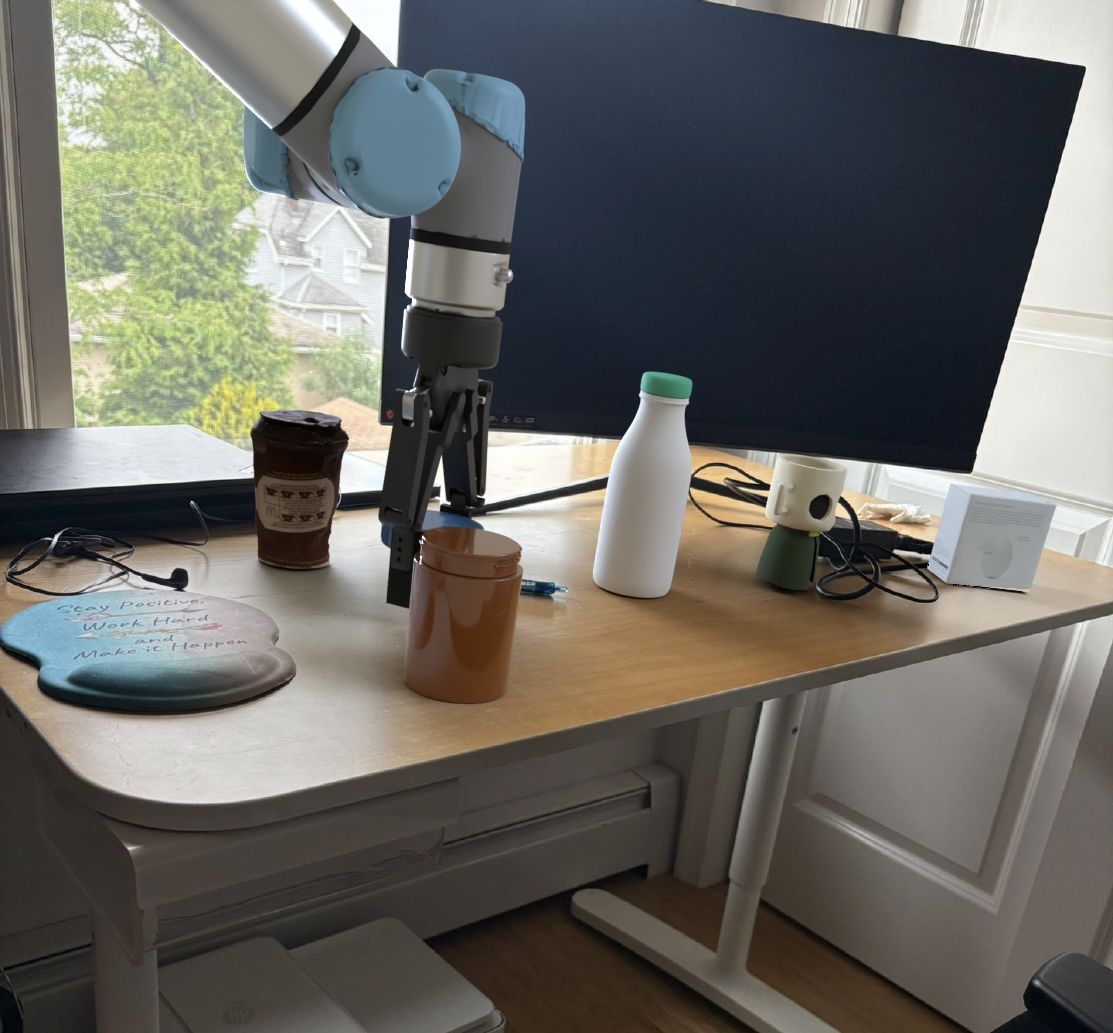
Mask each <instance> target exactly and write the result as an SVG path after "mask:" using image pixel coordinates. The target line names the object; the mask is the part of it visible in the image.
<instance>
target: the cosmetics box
mask: <svg viewBox="0 0 1113 1033" xmlns="http://www.w3.org/2000/svg"><path fill="white" fill-rule="evenodd" d="M944 502H945V503H944V506H943V510H942V512H941V517H940V520H939V523H938V527H937V532H936V535H935V538H934V543H933V546H932V550H931V553H930V557H929V560H928V564H929V566H928V565H927V570H928V571H930V573H932V574H934V575H935V576H936V577H937V578H939V579H940V580H942V581H943V582H944V583H945V584H946V585H953V584H957V585H956V586H963V585H967V586H966V587H973V586H985V587H986V586H987V587H1002V588H1003V587H1004V588H1016V589H1031V590H1032V587H1033V583H1034V579H1035V576H1036V574H1037V569H1038V566H1039V563H1040V560H1041V556H1042V553H1043V550H1044V547H1045V543H1046V541H1047V537H1048V533H1049V530H1050V527H1051V524H1052V521H1053V518H1054V515H1055V512H1056V509H1057V504H1056V503H1054V502H1052V501H1049V500H1047V499H1045V498H1042V497H1041V496H1037V495H1035V494H1033V493H1027V492H1019V491H1010V490H1003V489H996V488H986V487H981V486H972V485H964V484H957V483H950V484H949V488H948V491H947V495H946V499H945V501H944ZM958 584H959V585H958ZM968 585H969V586H968Z"/></svg>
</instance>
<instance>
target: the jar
mask: <svg viewBox="0 0 1113 1033" xmlns="http://www.w3.org/2000/svg"><path fill="white" fill-rule="evenodd" d="M419 542H420V544H421V551H419V552H417V553H416V554H415V556H414V563H413V574H412V584H411V595H410V605H409V609H408V616H407V617H408V618H407V629H406V637H405V638H406V639H405V648H404V660H403V670H402V679H403V682H404V684H405V685H406V686H407V687H408V688H409V689H410V690H411V691H414V692H416V693H417V694H419V695H421V696H424V697H427V698H431V699H433V700H438V701H442V702H447V703H454V704H481V703H488V702H492V701H495V700H498V699H500V698H502V697H503V696H504V695H505V694H506V692H507V691H508V687H509V686H508V685H509V677H510V670H511V663H512V656H513V647H514V640H515V633H516V627H517V620H518V613H519V612H518V611H519V605H520V596H521V590H522V584H523V583H522V582H523V576H524V575H523V574H524V568H523V566H522V565H521V564H520V561H521V559H522V552H523V547H522V546H521V544H519V543H518V542H517V540H514V539H513V538H511V537H509V536H506V535H503V534H501V533H497V532H494V531H491V530H486V529H484V530H481V529H475V528H466V527H439V528H433V529H429V530H427V531H425V532H424V533H423V535H422V537H421V539H420V541H419Z"/></svg>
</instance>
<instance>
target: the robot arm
mask: <svg viewBox="0 0 1113 1033" xmlns="http://www.w3.org/2000/svg"><path fill="white" fill-rule="evenodd" d="M134 1H135V2H136V3H137V4H138V5H139V6H140V7H141V8H142V9H143V10H145V12H147V14H149V16H151V17H152V19H154V20H155V21H156V22H157V23H158V24H159V25H160V26H161V27H162V28H163V29H164V30H166V32H168V34H170V35H171V36H172V37H173V38H174V39H175V40H176V41H177V42H178V43H179V44H181V46H182V47H184V49H185V50H187V51H188V52H189V53H190V54H191V55H192V56H193V57H194V58H195V59H196V60H197V61H198V62H199V63H200V64H202V65H203V66H204V67H205V68H206V70H208V71H209V73H211V74H212V75H213V76H214V77H215V78H216V79H217V80H219V81H220V83H222V84H223V85H224V86H225V87H226V88H227V89H228V90H229V91H230V92H231V93H232V94H233V95H234V96H235V97H237V99H238V100H239V101H241V102H242V103H243V105H244V107H243V121H242V153H243V154H242V155H243V163H244V170H245V175H246V177H247V180H248V182H249V183H250V185H251V186H252V188H254V189H255V190H256V191H258V192H260V193H265V194H270V195H274V196H280V197H285V198H287V199H288V200H290V201H299V200H303V201H309V202H317V203H322V204H328V205H333V206H337V207H341V208H347V209H352V210H356V211H360V212H361V213H363V214H365V215H368V216H369V217H373V218H376V219H381V220H384V219H391V220H392V219H401V218H407V217H411V218H410V219H411V220H410V221H411V224H410V230H409V231H410V233H409V246H408V258H407V267H406V268H407V269H406V279H405V288H404V289H405V290H404V293H405V294H406V296H407V298H410V299H412V302H411V304H408V305H407V306H406V308H404V310H403V322H402V334H401V352H402V353H403V355H404V356H405V357H407V358H409V359H412V360H415V361H416V363H417V365H418V368H417V370H416V375H415V378H414V382H413V388H412V389H410V390H406V389H402V388H396V389H395V392H393V393H394V394H393V397H392V400H393V402H392V403H393V404H392V408H393V409H392V426H391V433H390V440H389V445H388V452H387V458H386V463H385V464H386V465H385V470H384V477H383V483H382V489H381V496H380V501H379V508H378V513H377V517H378V521H379V523H380V524H381V525H382V524H387V525H391V526H392V537H391V549H390V548H389V550H390V552H389V562H388V574H387V587H386V600H385V603H386V604H388V605H393V606H396V607H400V608H403V609H408V610H409V605H410V595H411V584H412V574H413V563H414V556H415V554H416V553H417V552H419V551H421V544H420V542H419V541H420V539H421V537H422V535H423V533H424V532H425V531H427V530H426V529H422V526H423V522H424V518H425V515H426V511H427V510H428V506H429V503H430V498H431V496H432V492H433V489H434V485H435V481H436V477H437V474H438V470H439V466H440V462H442V474H443V483H444V493H445V502H447V503H441V504H440V505H439V511H442V512H448V513H452V514H457V515H461V516H464V517H467V518H470V519H472V518H473V509H478V510H483V509H484V507H485V503H486V498H484V496H485V494H486V490H487V470H488V449H489V448H488V447H489V446H488V445H489V424H490V408H491V402H492V396H493V390H494V383H493V381H491V380H486V379H480V378H479V370H489V369H492V368H495V367H496V366H497V364H498V363H499V359H500V351H501V342H502V334H503V322H502V321H501V318H500V317H498V316H496V311H501V310H502V309H503V308H504V307H505V302H506V301H505V300H506V299H505V298H506V293H507V292H506V290H507V284H510V283H511V282H512V281H513V280H514V279H513V278H514V273H513V271H512V269H509V264H510V257H511V250H512V248H511V247H512V236H513V230H514V224H515V216H516V206H517V201H518V192H519V186H520V185H519V184H520V177H521V170H522V163H524V157H525V155H524V147H525V146H524V145H525V130H526V100H525V96H524V94H523V92H522V90H521V89H520V88H519V87H518V86H517V85H516V84H515V83H513V82H511V81H508V80H505V79H502V78H499V77H495V76H490V75H486V74H481V73H473V72H466V71H462V70H454V69H446V68H433V69H430V70H429V71H427V72H426V73H425V75H424V76H423V77H421V76H420V75H417V74H415V73H413V72H412V71H410V70H408V69H404V68H401V67H398V66H396V65H394V63H393V62H392V61H391V60H390V59H389V58H388V57H387V56H386V55H385V53H384V52H383V51H381V49H380V48H379V47H378V46H377V45H376V44H375V43H374V42H373V41H372V40H371V39H370V37H368V36H367V34H365V33H364V32H363V31H362V30H361V29H360V28H359V27H358V26H357V25H356V24H355V22H354V21H352V19H351V18H350V17H349V16H348V15H347V14H346V12H344V10H343V9H342V8H341V7H340V6H339V5H338V4H337V3H336V1H335V0H134ZM449 503H450V504H449ZM471 508H473V509H471ZM472 520H473V519H472Z"/></svg>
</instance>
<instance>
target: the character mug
mask: <svg viewBox="0 0 1113 1033" xmlns="http://www.w3.org/2000/svg"><path fill="white" fill-rule="evenodd" d="M847 474H848V468H847V467H846V466H845V465H842V464H841V463H837V462H834V461H831V460H828V459H824V458H820V457H815V456H809V455H803V454H793V453H782V454H778V455H777V457H776V461H775V465H774V470H773V474H772V478H771V484H770V487H769V492H768V495H767V496H768V497H767V501H766V504H765V514H764V515H765V518H767V519H768V520H770V521H772V522H773V523H775V524H776V525H774V526H773V528H772V529H771V530H770V532H769V533H768V536H767V539H766V541H765V543H764V546H763V549H762V552H761V554H760V558H759V561H758V563H757V566H756V569H755V573H754V575H755V576H757V577H758V578H760V579H763V580H765V581H767V582H769V583H772V584H773V588H776V589H777V588H779V587H780V588H782V589H787V590H792V591H793V590H794V591H808V589H809V584H810V583H811V584H812V585H811V589H814V586H815V582H816V574H817V570H818V562H819V552H820V551H819V549H820V537H819V536H820V534H821V532H829V531H831V530H832V528H833V527H834V526H835V523H836V510H837V505H838V503H839V500H840V497H841V496H842V493H843V492H844V486H845V483H846V482H845V481H846V477H847Z"/></svg>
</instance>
